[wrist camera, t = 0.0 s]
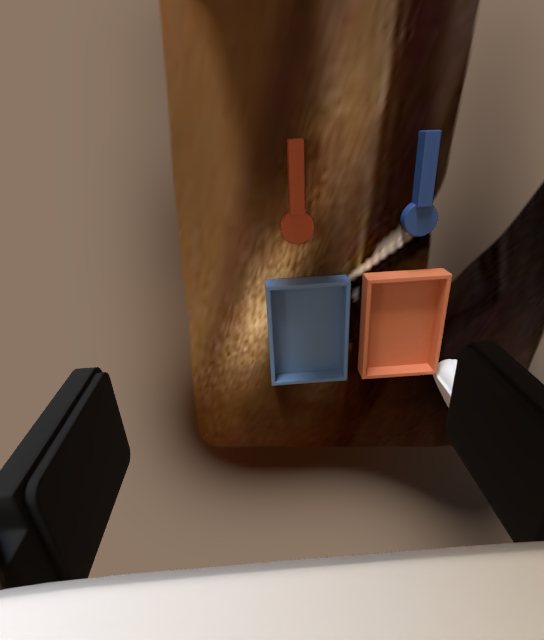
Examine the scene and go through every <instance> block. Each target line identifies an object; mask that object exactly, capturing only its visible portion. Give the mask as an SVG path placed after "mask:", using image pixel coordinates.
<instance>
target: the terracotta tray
mask: <svg viewBox="0 0 544 640" xmlns="http://www.w3.org/2000/svg"><path fill="white" fill-rule="evenodd" d="M451 278H452V274H451V273H449V272H448V271H446V270H445V269H444V268H437V269H420V270H405V271H390V272H375V273H363V277H362V296H361V315H360V334H359V353H358V371H359V373H360V375H361V378H362V379H372V378H386V377H400V376H413V375H427V374H436V373H437V367H438V361H439V354H440V348H441V342H442V336H443V329H444V323H445V317H446V310H447V304H448V298H449V291H450V285H451Z"/></svg>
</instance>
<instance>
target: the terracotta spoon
mask: <svg viewBox="0 0 544 640" xmlns="http://www.w3.org/2000/svg"><path fill="white" fill-rule="evenodd" d="M287 163H288V194H289V211H287V212H286V213H285V214H284V215H283V217H282V219H281V221H280V230H281V233H282V235H283V237H284V238H285V240H287V241H288V242H290V243H292V244H302V243H304V242H306V241H308V240H309V239H310V238H311V236H312V234H313V232H314V221H313V219H312V217H311V216H310V214H309V213H308V212H307V211H305V170H304V138H288V139H287Z"/></svg>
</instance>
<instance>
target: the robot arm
mask: <svg viewBox="0 0 544 640" xmlns="http://www.w3.org/2000/svg"><path fill="white" fill-rule="evenodd" d="M445 428H446V434H447V437H448V439H449V441H450V442H451V444H452V446H453V447H454V449H455V450H456V452H457V453H458V455H459V456H460V458H461V460H462V461H463V463H464V465H465V466H466V468H467V469H468V471H469V472H470V474H471V476H472V477H473V478H474V480H475V482H476V483H477V485H478V487H479V488H480V490H481V491H482V493H483V494H484V496H485V498H486V499H487V501H488V502H489V504H490V506H491V507H492V509H493V510H494V512H495V513H496V515H497V516H498V518H499V519H500V521H501V523H502V524H503V526H504V527H505V529H506V531H507V532H508V534H509V535H510V537H511V539H512V540H513V542H514V543H504V544H491V545H478V546H465V547H451V548H438V549H425V550H411V551H398V552H386V553H373V554H360V555H349V556H335V557H323V558H311V559H298V560H286V561H274V562H262V563H250V564H239V565H227V566H215V567H204V568H192V569H181V570H169V571H158V572H147V573H134V574H125V575H114V576H105V577H95V578H88V575H89V573H90V570H91V567H92V564H93V562H94V559H95V556H96V553H97V551H98V548H99V545H100V542H101V539H102V537H103V534H104V531H105V529H106V526H107V523H108V520H109V517H110V515H111V512H112V509H113V506H114V504H115V501H116V498H117V495H118V493H119V490H120V487H121V484H122V481H123V479H124V476H125V473H126V470H127V468H128V465H129V462H130V448H129V444H128V441H127V437H126V433H125V430H124V426H123V423H122V419H121V416H120V412H119V409H118V405H117V402H116V398H115V394H114V391H113V387H112V384H111V380H110V377H109V375H108V373H106V372H102V371H101V369H100V368H98V367H97V368H81V369H75V370H74V371H73V372H72V373H71V374H70V376H69V377H68V379H67V380H66V381H65V383H64V384H63V385H62V387H61V388H60V389H59V391H58V392H57V394H56V395H55V397H54V398H53V399H52V400H51V402H50V403H49V405H48V406H47V407H46V409H45V410H44V411H43V413H42V414H41V416H40V417H39V419H38V420H37V421H36V422H35V424H34V425H33V426H32V428H31V429H30V431H29V432H28V433H27V435H26V436H25V437H24V439H23V440H22V442H21V443H20V444H19V446H18V447H17V449H16V450H15V451H14V453H13V454H12V455H11V457H10V458H9V459H8V461H7V462H6V463H5V465H4V466H3V468H2V469H1V470H0V640H544V385H543V384H542V383H541V382H540V381H539V380H538V379H537V378H536V377H534V376H533V375H532V374H531V373H530V372H529V371H528V370H527V369H525V368H524V367H523V366H522V365H521V364H520V363H519V362H517V361H516V360H515V359H514V358H513V357H512V356H511V355H509V354H508V353H507V352H506V351H505V350H504V349H503V348H501V347H500V346H499V345H498V344H497V343H496V342H494V341H493V340H481V341H469V342H467V344H466V345H465V347H462V348H461V349H460V351H459V355H458V360H457V366H456V371H455V376H454V382H453V387H452V393H451V398H450V404H449V409H448V415H447V420H446V427H445Z"/></svg>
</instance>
